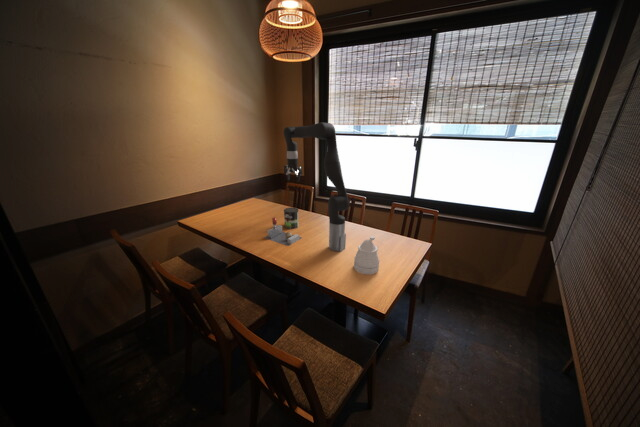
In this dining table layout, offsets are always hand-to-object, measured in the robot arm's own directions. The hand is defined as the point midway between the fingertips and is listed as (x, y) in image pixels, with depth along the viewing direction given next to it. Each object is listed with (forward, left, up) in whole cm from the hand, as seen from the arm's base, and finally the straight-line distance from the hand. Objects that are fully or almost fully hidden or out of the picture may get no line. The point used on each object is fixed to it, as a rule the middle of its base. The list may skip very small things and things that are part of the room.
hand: (293, 180), depth 176 cm
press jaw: (-4, +25, -31) cm, 40 cm away
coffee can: (-3, +7, -33) cm, 34 cm away
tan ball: (-16, +25, -28) cm, 41 cm away
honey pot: (-69, +25, -33) cm, 81 cm away
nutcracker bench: (-11, +25, -33) cm, 43 cm away
